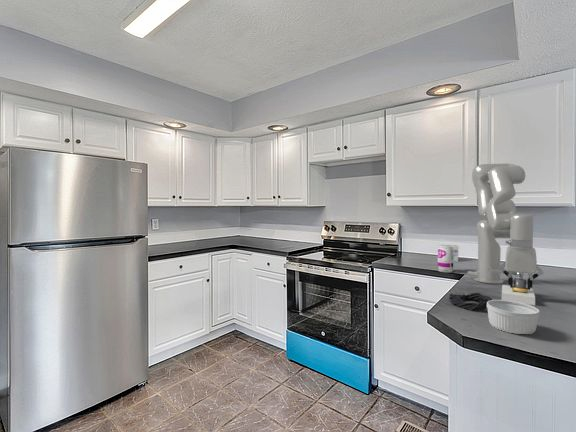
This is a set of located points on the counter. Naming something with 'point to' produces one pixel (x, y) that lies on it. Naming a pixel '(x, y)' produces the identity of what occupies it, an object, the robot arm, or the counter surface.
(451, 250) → the supplement can
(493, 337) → the counter surface
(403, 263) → the counter surface
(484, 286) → the counter surface
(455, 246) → the light bulb box
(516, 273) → the clip
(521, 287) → the plug
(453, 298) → the cable
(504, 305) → the ramekin
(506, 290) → the socket block
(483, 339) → the counter surface
